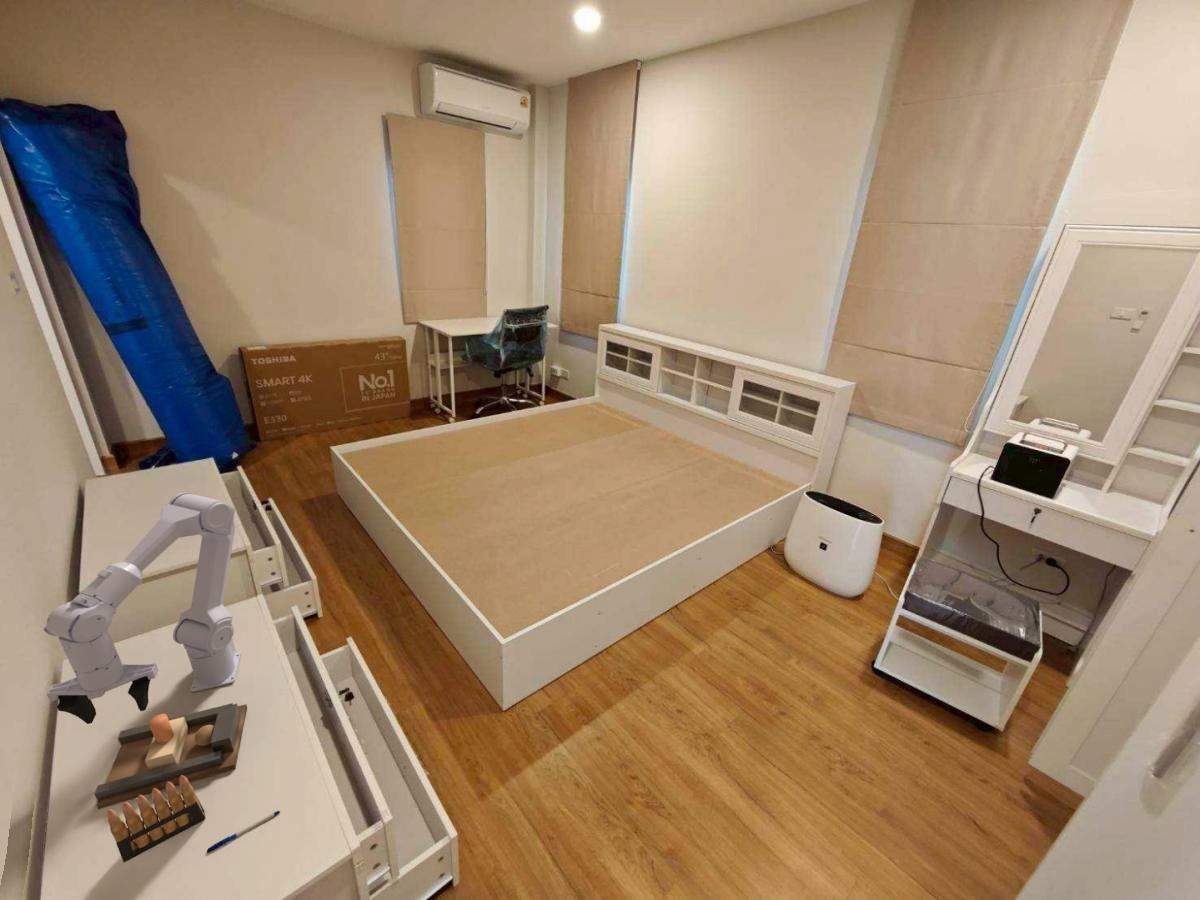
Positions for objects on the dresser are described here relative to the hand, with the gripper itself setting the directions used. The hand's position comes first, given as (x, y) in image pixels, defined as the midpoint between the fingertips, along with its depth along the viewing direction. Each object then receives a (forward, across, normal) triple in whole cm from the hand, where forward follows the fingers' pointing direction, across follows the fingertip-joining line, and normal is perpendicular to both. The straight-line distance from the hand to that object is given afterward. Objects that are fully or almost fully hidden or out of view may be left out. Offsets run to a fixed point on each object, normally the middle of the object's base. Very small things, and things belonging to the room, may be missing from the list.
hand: (118, 712), depth 94 cm
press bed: (+9, +8, -5) cm, 14 cm away
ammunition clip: (+10, +10, -21) cm, 25 cm away
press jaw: (+8, +7, -5) cm, 12 cm away
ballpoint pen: (+10, +22, -25) cm, 35 cm away
